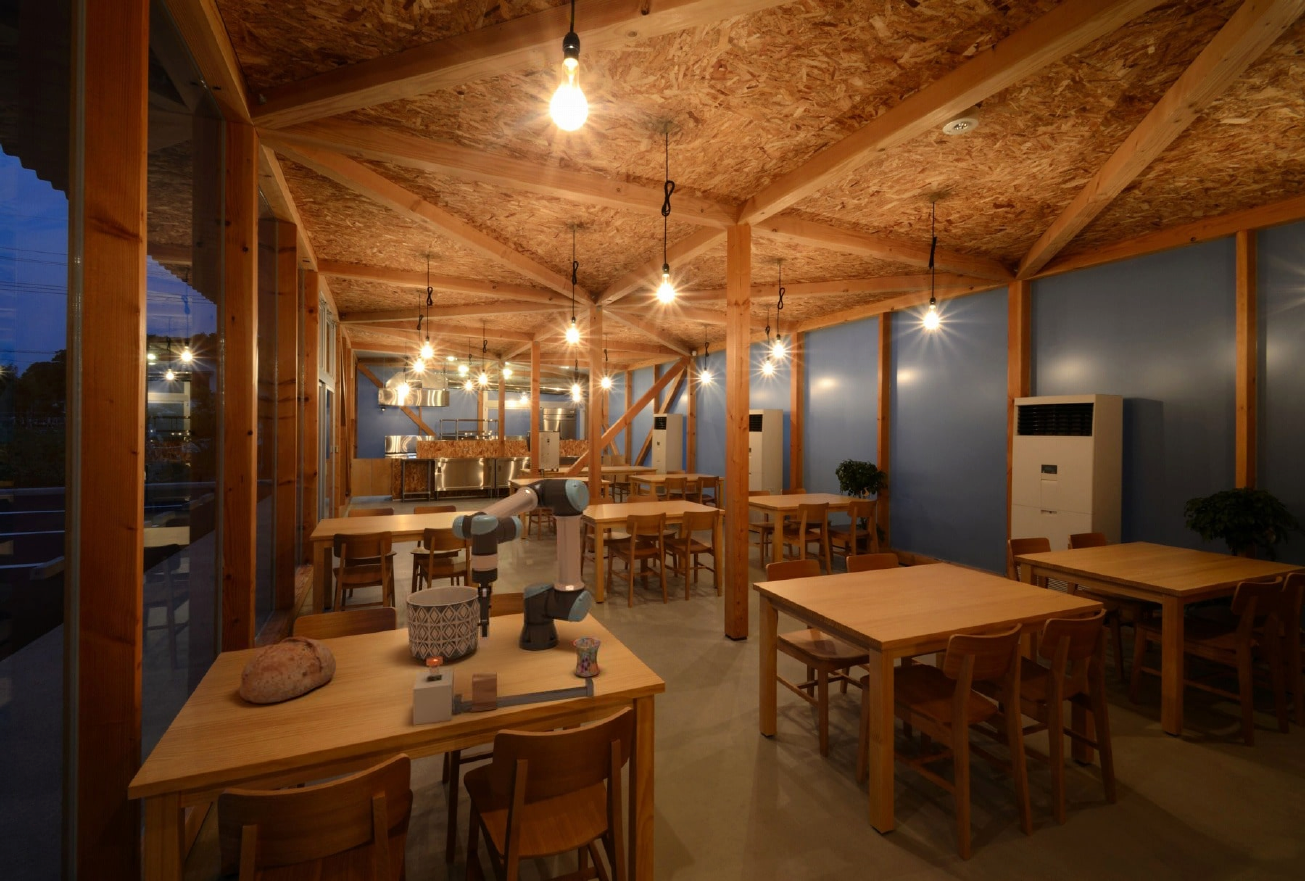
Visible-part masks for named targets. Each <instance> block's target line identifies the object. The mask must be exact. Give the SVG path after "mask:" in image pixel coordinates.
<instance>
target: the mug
mask: <svg viewBox="0 0 1305 881" xmlns="http://www.w3.org/2000/svg"><path fill="white" fill-rule="evenodd" d="M572 644H573V647H574V649H575V654H576V666H575V668H574V671H573V672H574V674H575V675H577V676H579V677H584V678H587V677H588V678H590V677H593V676H596V675H598V673H599V672H600V668H599V665H598V658H597V657H598V652H599V651H598V650H599V648H600V646H601V640H600V639H599V638H596V637H591V636H590V637H581V638H577V639H575V640H574V641H573V643H572Z"/></svg>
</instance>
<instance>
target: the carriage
mask: <svg viewBox="0 0 1305 881" xmlns="http://www.w3.org/2000/svg"><path fill="white" fill-rule="evenodd" d="M471 681H472V682H471V701H472V711H471V712H472V713H473V712H482V711H490V710H497V709H498V708H497V697H498V673H497V671H490V672H489V671H487V672H479V673H473V674H472V678H471Z"/></svg>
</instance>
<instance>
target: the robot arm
mask: <svg viewBox="0 0 1305 881" xmlns="http://www.w3.org/2000/svg"><path fill="white" fill-rule="evenodd" d="M589 504H590V493H589V489H588V486H587V485H586V484H585V482H584V481H582V480H580V479H573V478H543V479H539V480H536V481H532V482H531V483H528V484H526V485H524V486H522V487H520V488H519V489H518V490H516V492H515V493H513V494H511V495H510V496H508V497H505V498H503V499H501V500H499V501H497V502H495V503H493V504H491V505H489V506H487V507H485V508H483V509H481V510H479V511H477V512H474V513H472V514H471V515H468V514H463V515H462V514H459V515H458V516H457V517H455V518H454V520H453V522H452V527H451V528H452V534H453V536H455V537H456V538H458V539H463V540H470V541H471V543H470V544H471V552H470V553H471V557H469V561H471V568H472V569H471V571H470V572H471V578H470V579H471V583H474V584H480V586H477V589H478V602H479V604H480V618H479V623H477V626H479V649H485V648H490V622H491V621H490V610H491V609H492V604H490V603H491V600H492V597H491V596H492V585H489V584H490V583H495V582H496V581H497V580H498V579H499V575H498V574H499V572H498V571H499V569H498V565H499V563H498V562H499V553H498V551H499V550H498V545H501V544H505V543H508V542H512V541H514V540H517V539H519V538H520V537H521V535H522V534H523V531H524V526H523V522H522V520H521V519H520V518H519V517H517V516H519V515H521V514H523V513H525V512H532V511H535V510H538V509H539V510H540V509H543V510H544V509H545V510H552V511H551V512H552V517H553V518H554V519H555V520H556V538H557V539H556V543H557V544H556V549H557V550H556V551H557V552H556V553H557V582H556V583H554V582H552V581H542V582H536V583H532V584H528V585H527V586H526V587H525V588H524V590H523V596H522V599H523V626H522V629H521V632H520V635H519V637H518V638H519V639H518V645H519V647H520V648H522V649H524V650H529V651H540V650H541V651H542V650H548V649H551V648H554V647H555V646H557V645H558V644H559V634H558V631H557V627H556V624H555V620H556V621H557V620H558V621H563V622H564V621H565V622H569V623H581V622H582V621H584V619H585V618H586V617H587V616H588V614H589V612H590V609H591V605H592V604H591V603H592V595H591V592H589V591H588V590H586V584H585V582H583V581H582V580H581V575H582V574H581V572H582V571H581V540H580V539H581V532H580V531H581V530H580V528H581V527H580V523H581V522H580V519H581V518H582V517H583V515H584V511H586V510H587V509H588V508H589V507H588V506H589Z"/></svg>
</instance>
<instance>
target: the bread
mask: <svg viewBox="0 0 1305 881" xmlns="http://www.w3.org/2000/svg"><path fill="white" fill-rule="evenodd" d="M336 664H337V662H336V658H335V656H334V654H333V653H332V650H331V649H329V647H328V646H327V645H326V644H324V643H323V642H321V641H320V640H318V639H312V638H309V637H306V636H295V637H294V636H293V637H292V636H289V637H286V638H284V639H282V640H281V641H280V642H278V643H277V644H267V645H266V646H264V647H262V648H261V649H259V650H258V651H257V652H255V653H254V654H253V655H252V656H251V657H250V658H249V659H248V660H247V662H246V664H245V665H244V667H243V669H242V671H241V674H240V678H241V680H240V682H241V683H240V686H239V691H238V692H239V695H240V696H241V698H243V700H245V701H246V702H251V703H254V704H275V703H279V702H283V701H286V700H290V699H294V698H295V697H298V696H301V695H303V694H305V693H307V692H310V691H311V690H314V689H315V688H317V687H320V686H323V685H325V684H326V683H328V682H329V681H330V680H331V679H332V678H333V676H334V675H335V672H336V668H337V665H336Z"/></svg>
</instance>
